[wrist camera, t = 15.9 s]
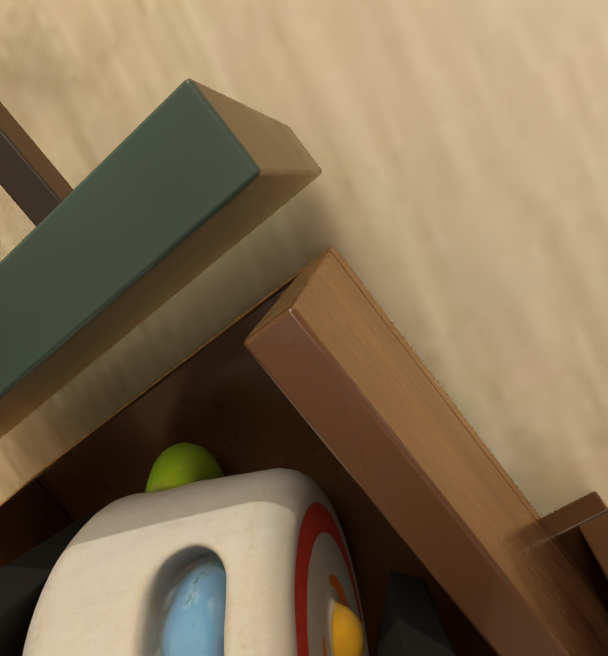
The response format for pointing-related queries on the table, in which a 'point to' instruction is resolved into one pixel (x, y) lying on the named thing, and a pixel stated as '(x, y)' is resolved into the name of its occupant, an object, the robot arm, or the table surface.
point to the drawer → (263, 379)
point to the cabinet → (585, 537)
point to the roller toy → (205, 570)
